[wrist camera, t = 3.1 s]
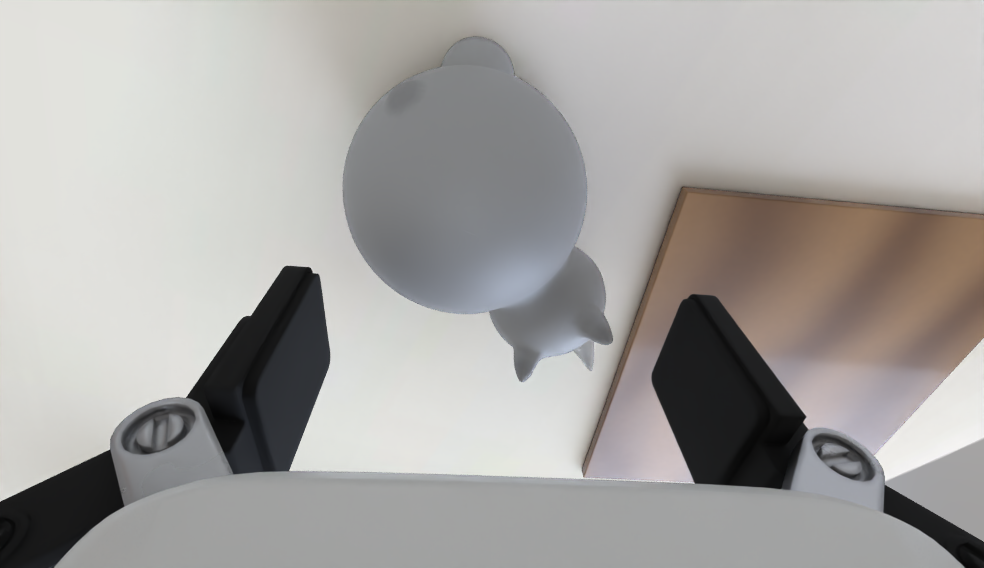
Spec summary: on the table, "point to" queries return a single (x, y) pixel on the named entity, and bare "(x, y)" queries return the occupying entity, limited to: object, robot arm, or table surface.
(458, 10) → the table surface
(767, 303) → the brown wooden board
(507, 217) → the round bodied animal figurine
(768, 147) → the table surface
